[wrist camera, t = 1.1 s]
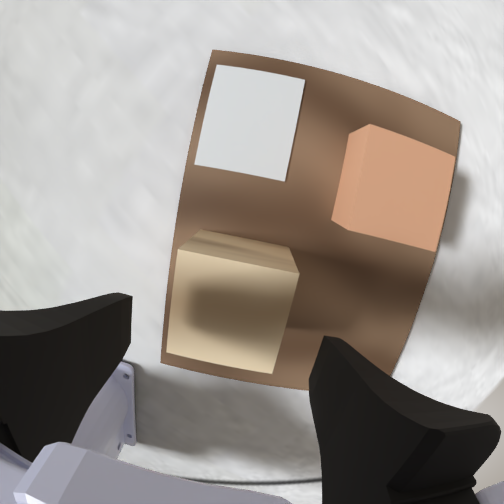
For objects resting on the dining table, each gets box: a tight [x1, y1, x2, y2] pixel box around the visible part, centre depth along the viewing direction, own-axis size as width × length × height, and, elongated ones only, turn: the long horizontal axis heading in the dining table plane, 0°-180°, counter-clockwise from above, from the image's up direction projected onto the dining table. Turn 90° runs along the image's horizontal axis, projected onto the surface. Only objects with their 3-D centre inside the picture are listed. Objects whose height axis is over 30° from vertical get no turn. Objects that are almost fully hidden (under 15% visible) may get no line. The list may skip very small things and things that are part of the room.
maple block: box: [166, 230, 299, 374], centre depth 15 cm, size 5×5×5 cm
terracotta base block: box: [331, 124, 455, 252], centre depth 15 cm, size 5×5×4 cm
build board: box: [161, 50, 460, 391], centre depth 17 cm, size 20×16×1 cm
